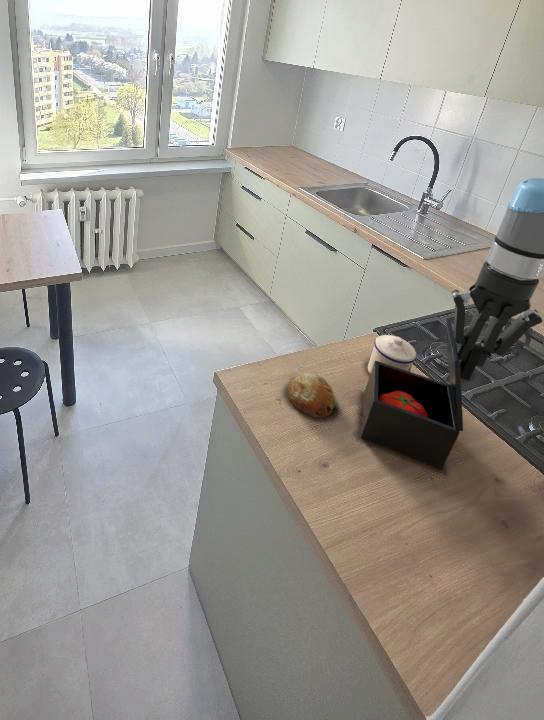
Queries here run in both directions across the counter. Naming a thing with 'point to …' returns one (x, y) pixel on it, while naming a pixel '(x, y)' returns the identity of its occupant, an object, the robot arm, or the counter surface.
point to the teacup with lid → (392, 352)
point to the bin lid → (454, 375)
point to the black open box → (409, 416)
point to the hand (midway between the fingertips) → (463, 374)
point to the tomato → (403, 402)
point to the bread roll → (312, 395)
